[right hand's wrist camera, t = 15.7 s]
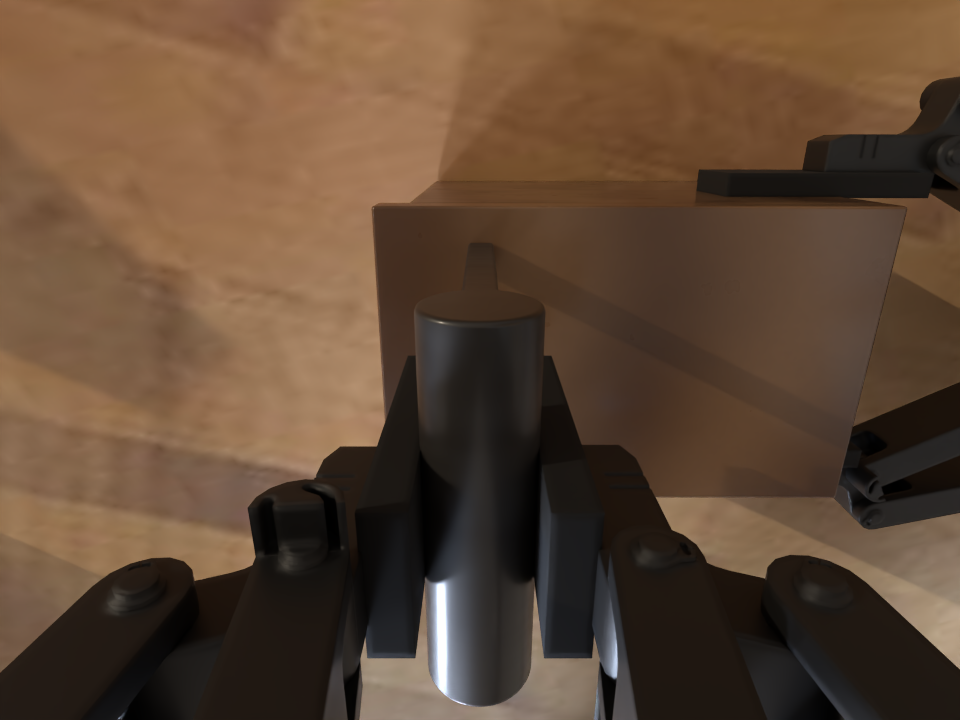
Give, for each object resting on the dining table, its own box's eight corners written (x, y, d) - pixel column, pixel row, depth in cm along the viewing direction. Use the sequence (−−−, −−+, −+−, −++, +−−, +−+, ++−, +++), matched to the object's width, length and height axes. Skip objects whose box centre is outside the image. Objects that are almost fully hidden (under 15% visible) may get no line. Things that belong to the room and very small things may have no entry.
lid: (393, 480, 20) (325, 739, 11) (377, 202, 17) (263, 265, 8) (818, 481, 20) (1079, 742, 11) (885, 203, 17) (1321, 266, 8)
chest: (440, 369, 30) (420, 480, 20) (435, 181, 26) (409, 202, 17) (706, 369, 30) (818, 481, 20) (733, 181, 26) (883, 202, 17)
